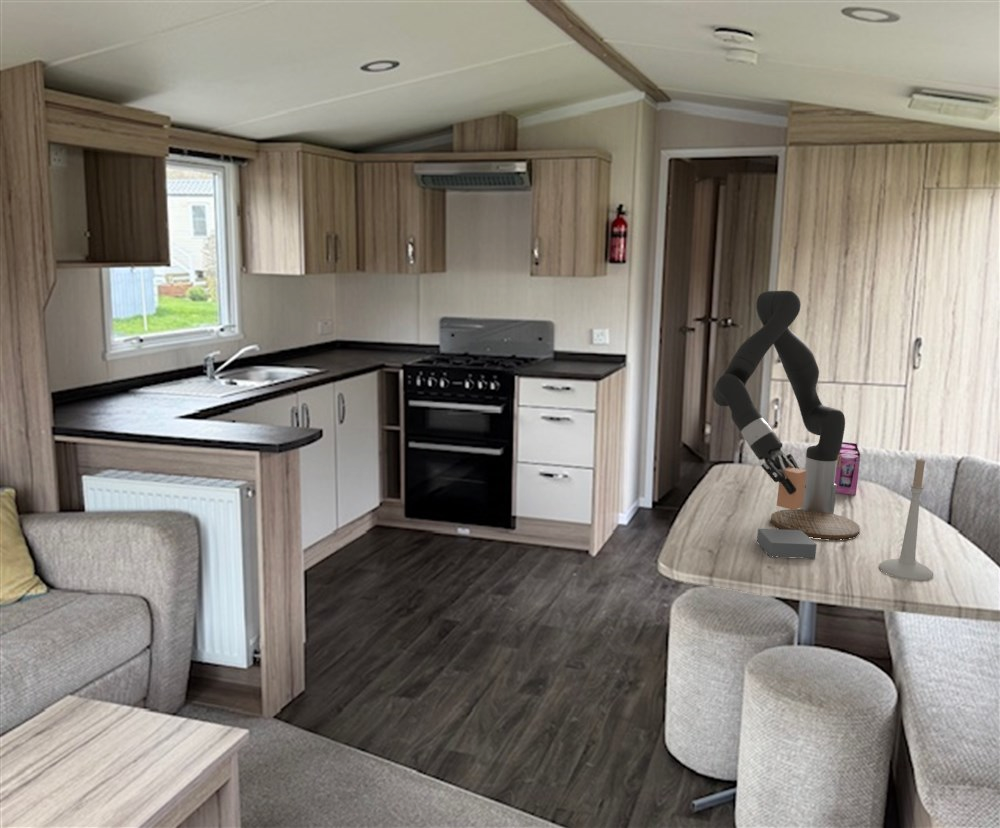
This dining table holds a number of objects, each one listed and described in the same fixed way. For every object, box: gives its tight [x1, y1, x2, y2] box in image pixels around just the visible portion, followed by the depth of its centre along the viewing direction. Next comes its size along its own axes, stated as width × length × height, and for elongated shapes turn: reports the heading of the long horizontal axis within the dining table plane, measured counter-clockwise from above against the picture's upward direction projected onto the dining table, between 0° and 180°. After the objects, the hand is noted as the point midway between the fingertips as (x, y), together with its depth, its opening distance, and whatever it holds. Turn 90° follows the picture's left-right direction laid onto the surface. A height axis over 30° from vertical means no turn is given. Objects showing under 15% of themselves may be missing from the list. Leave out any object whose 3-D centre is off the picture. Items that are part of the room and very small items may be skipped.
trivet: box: [770, 508, 861, 541], centre depth 268 cm, size 25×25×2 cm
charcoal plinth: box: [756, 528, 818, 559], centre depth 245 cm, size 12×12×4 cm
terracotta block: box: [776, 467, 807, 510], centre depth 242 cm, size 5×5×10 cm
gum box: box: [835, 441, 861, 496], centre depth 315 cm, size 24×8×14 cm, turn 162°
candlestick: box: [878, 458, 934, 582], centre depth 230 cm, size 13×13×30 cm
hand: (798, 490), depth 241 cm, fingers closed on terracotta block, 5 cm apart
